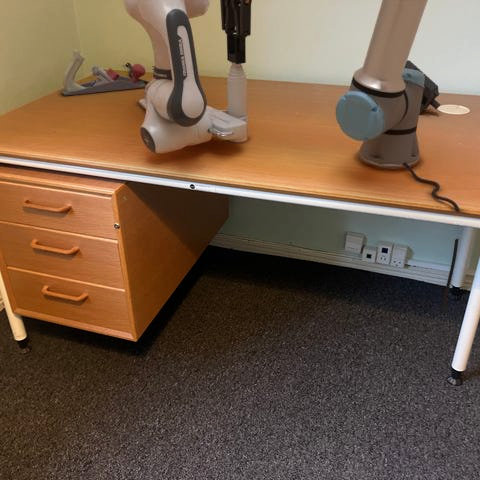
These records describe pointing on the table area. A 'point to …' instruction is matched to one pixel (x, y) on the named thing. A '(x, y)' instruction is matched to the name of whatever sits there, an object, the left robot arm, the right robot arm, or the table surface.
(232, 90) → the bottle
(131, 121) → the table surface
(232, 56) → the cap
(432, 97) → the tool
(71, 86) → the hand plane
